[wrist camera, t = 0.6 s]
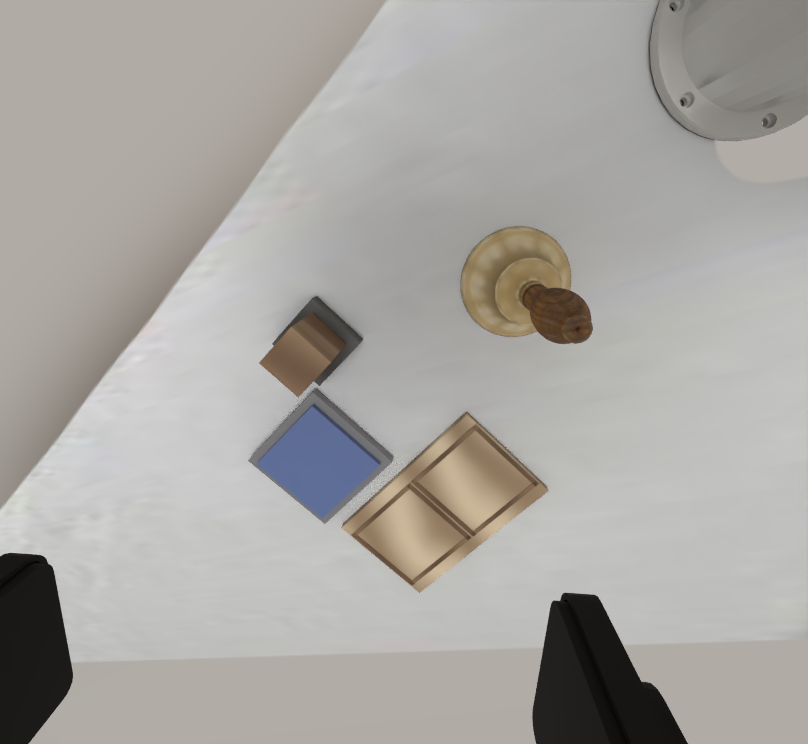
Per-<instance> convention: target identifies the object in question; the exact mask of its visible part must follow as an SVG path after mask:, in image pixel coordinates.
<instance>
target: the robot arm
mask: <svg viewBox="0 0 808 744" xmlns="http://www.w3.org/2000/svg"><path fill="white" fill-rule="evenodd" d="M669 6H672V7H673V11H672V10H671V9H670V7H669ZM650 62H651V70H652V75H653V79H654V84H655V87H656V89H657V91H658V94H659V96H660V98H661V100H662V103H663V104H664V105H665V107H666V108H667V109H668V111H669V112H670V113H671V115H672V116H673V117H674V118H675V119H676V120H677V121H678V122H680V123H681V124H682V125H683V126H684V127H685V128H687V129H689V130H691V131H693V132H695V133H697V134H698V135H700V136H703V137H707V138H711V139H715V140H721V141H741V140H746V139H753V138H758V137H761V136H765V135H768V134H771V133H774V132H777V131H779V130H781V129H783V128H785V127H788V126H790V125H792V124H794V123H796V122H797V121H799V120H800V119H802V118H803V117H805V116H806V115H808V0H660V2H659V5H658V8H657V12H656V15H655V18H654V22H653V27H652V34H651V41H650ZM680 100H683V102H684V105H683V106H681V103H680ZM762 121H763V125H762ZM72 679H73V672H72V666H71V660H70V655H69V650H68V644H67V639H66V634H65V628H64V623H63V618H62V612H61V607H60V602H59V596H58V591H57V586H56V580H55V575H54V570H53V567H52V566H51V565H49V564H48V562H47V560H46V558H45V557H43V556H41V555H33V554H19V553H7V554H3V555H2V556H0V744H28V743H29V742H30V741H31V740H32V738H33V737H34V736H35V734H36V733H37V732H38V731H39V729H40V728H41V727H42V726H43V724H44V723H45V722H46V721H47V719H48V718H49V717H50V715H51V714H52V713H53V712H54V711H55V709H56V708H57V707H58V705H59V704H60V703H61V702H62V700H63V699H64V697H65V696H66V695H67V693H68V691H69V689H70V686H71V683H72ZM533 729H534V735H535V740H536V744H688V743H687V741H686V740H685V738H684V736H683V734H682V732H681V730H680V728H679V727H678V725H677V723H676V721H675V719H674V717H673V715H672V713H671V711H670V710H669V708H668V706H667V704H666V702H665V700H664V699H663V697H662V695H661V694H660V692H659V691H658V689H657V688H656V687H654V686H653V685H652V684H651V683H647V682H641V680H640V678H639V677H638V674H637V672H636V671H635V668H634V667H633V665H632V663H631V661H630V659H629V657H628V655H627V653H626V651H625V649H624V647H623V645H622V643H621V641H620V639H619V637H618V635H617V633H616V631H615V629H614V627H613V625H612V623H611V621H610V619H609V617H608V615H607V613H606V611H605V609H604V607H603V605H602V603H601V601H600V599H599V598H598V597H597V596H596V595H588V594H575V593H563V595H562V596H561V600H560V601H553V602H552V604H551V608H550V613H549V619H548V625H547V631H546V636H545V642H544V648H543V655H542V660H541V665H540V672H539V677H538V682H537V688H536V695H535V700H534V706H533Z"/></svg>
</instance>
